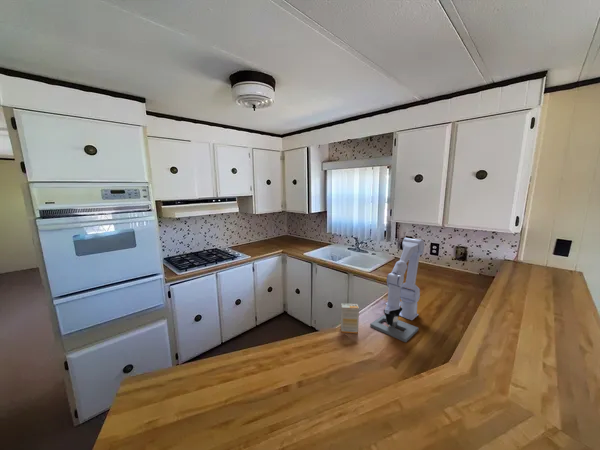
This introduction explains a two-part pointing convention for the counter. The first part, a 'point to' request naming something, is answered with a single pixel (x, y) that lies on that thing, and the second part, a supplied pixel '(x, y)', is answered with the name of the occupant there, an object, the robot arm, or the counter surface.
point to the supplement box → (349, 318)
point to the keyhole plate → (403, 336)
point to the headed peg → (394, 321)
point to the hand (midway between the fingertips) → (392, 322)
